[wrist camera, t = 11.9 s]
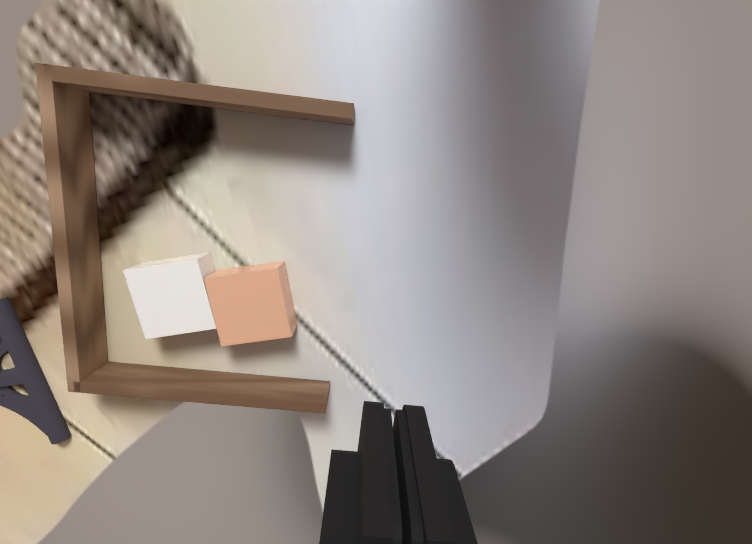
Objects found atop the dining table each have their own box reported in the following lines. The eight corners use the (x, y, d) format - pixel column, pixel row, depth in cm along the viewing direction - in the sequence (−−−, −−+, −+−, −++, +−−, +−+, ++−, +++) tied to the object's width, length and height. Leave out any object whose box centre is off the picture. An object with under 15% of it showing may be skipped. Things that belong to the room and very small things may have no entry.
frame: (74, 76, 28) (35, 62, 25) (355, 111, 30) (353, 103, 26) (97, 370, 35) (68, 391, 31) (329, 390, 36) (325, 413, 32)
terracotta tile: (218, 269, 33) (203, 278, 30) (285, 260, 33) (277, 268, 30) (233, 331, 34) (221, 346, 31) (297, 323, 34) (291, 336, 31)
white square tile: (144, 261, 33) (122, 270, 30) (212, 251, 32) (197, 258, 30) (164, 325, 34) (145, 339, 31) (229, 315, 34) (216, 328, 31)
